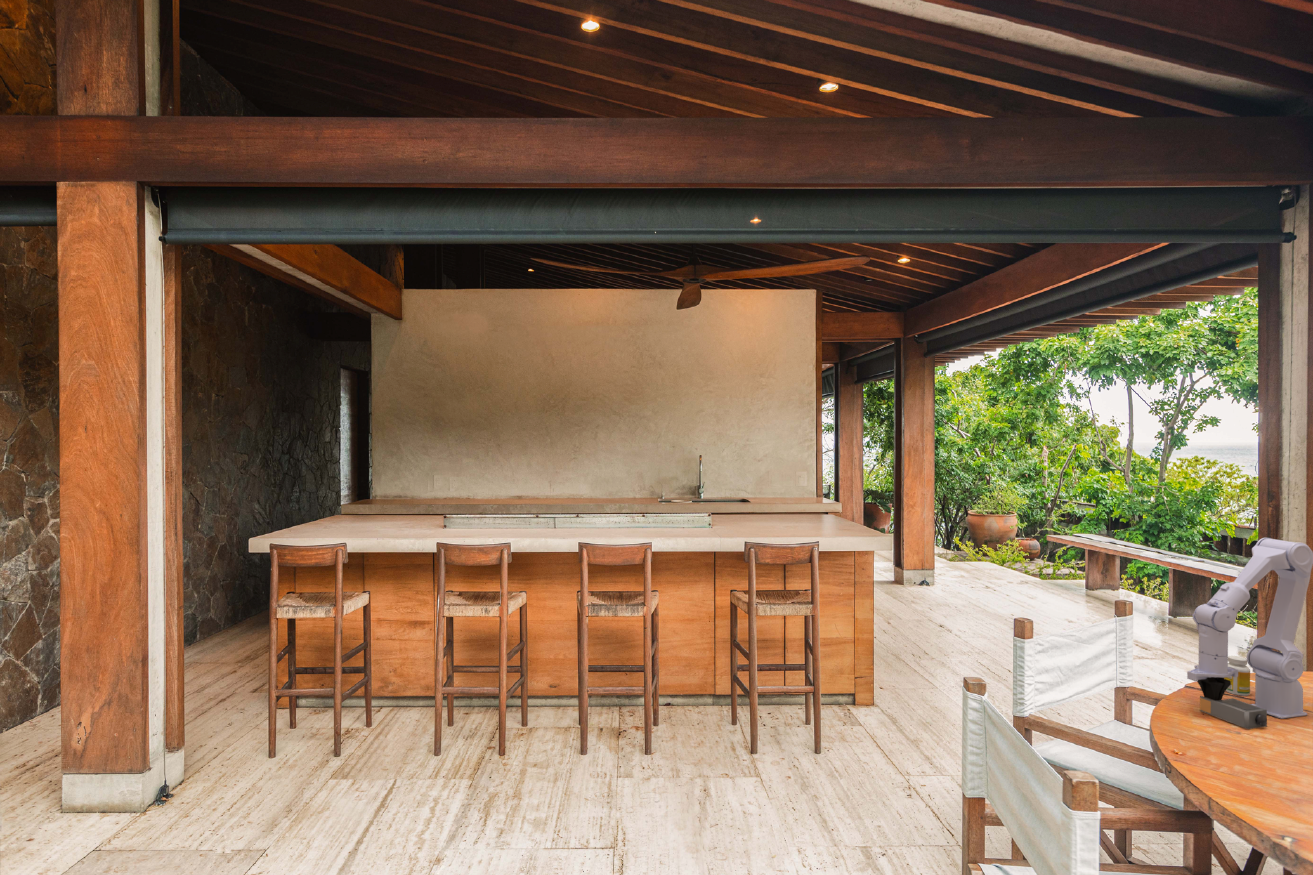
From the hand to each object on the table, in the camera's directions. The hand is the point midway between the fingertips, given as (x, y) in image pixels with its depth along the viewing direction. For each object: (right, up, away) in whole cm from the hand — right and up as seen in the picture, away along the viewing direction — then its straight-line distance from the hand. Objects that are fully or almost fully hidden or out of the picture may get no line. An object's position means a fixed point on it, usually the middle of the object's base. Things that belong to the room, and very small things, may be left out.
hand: (1212, 706), depth 168 cm
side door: (-1, -1, -4) cm, 5 cm away
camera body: (+3, -2, -5) cm, 6 cm away
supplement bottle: (+19, -2, +14) cm, 24 cm away
